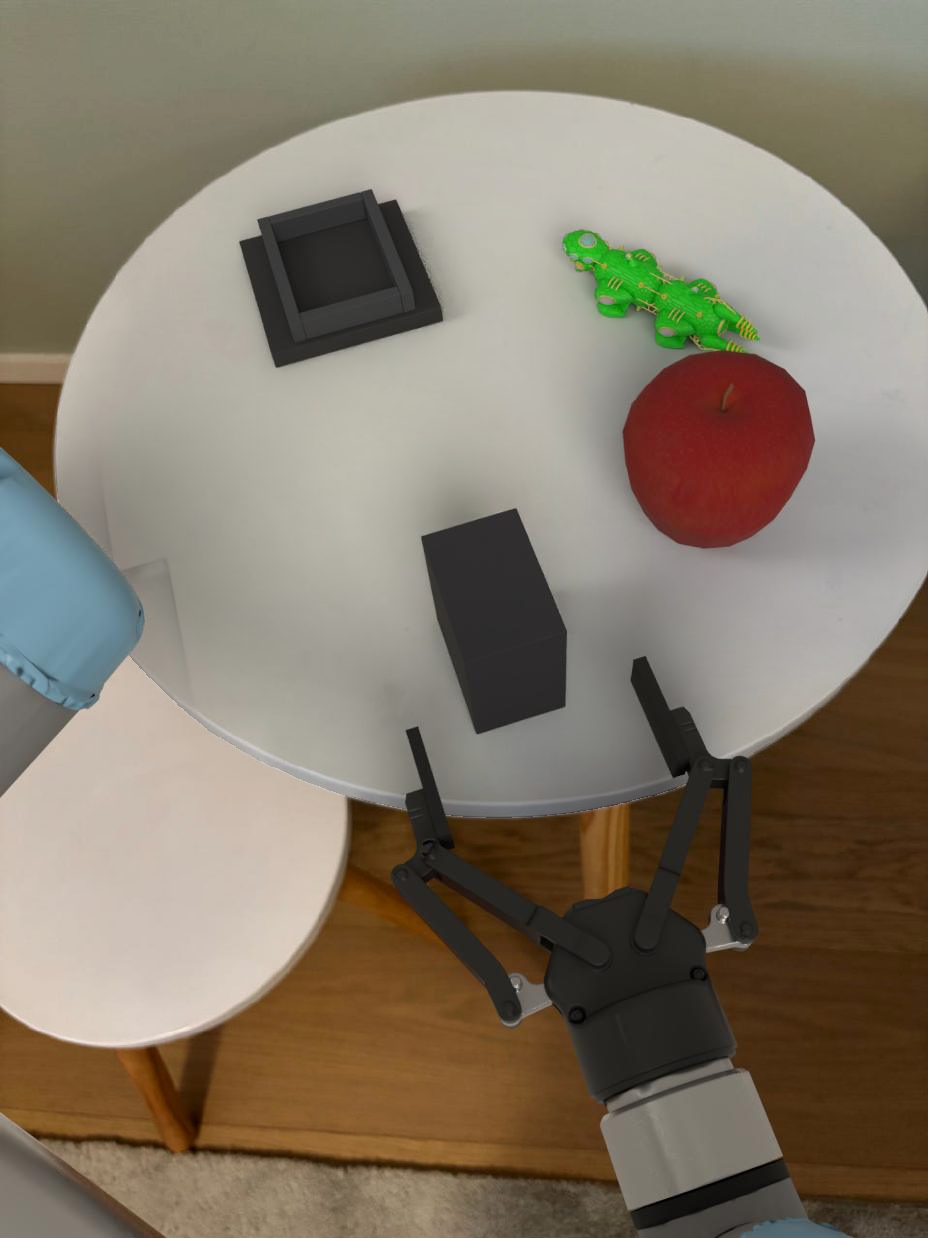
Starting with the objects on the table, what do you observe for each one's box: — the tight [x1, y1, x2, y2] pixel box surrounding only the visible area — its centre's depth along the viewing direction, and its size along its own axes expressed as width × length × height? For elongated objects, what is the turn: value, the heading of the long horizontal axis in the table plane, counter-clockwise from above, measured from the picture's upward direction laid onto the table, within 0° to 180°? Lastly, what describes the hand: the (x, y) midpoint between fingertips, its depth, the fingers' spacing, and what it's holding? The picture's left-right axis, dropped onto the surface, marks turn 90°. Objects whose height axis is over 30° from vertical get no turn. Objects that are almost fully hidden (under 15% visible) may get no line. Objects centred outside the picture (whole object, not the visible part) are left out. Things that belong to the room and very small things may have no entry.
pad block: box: [420, 507, 568, 735], centre depth 64 cm, size 6×9×10 cm, turn 17°
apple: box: [621, 350, 816, 549], centre depth 67 cm, size 12×12×13 cm
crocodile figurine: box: [560, 229, 761, 353], centre depth 81 cm, size 7×18×4 cm, turn 49°
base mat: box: [239, 188, 444, 368], centre depth 85 cm, size 14×14×4 cm
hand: (526, 701), depth 60 cm, fingers open, 13 cm apart
